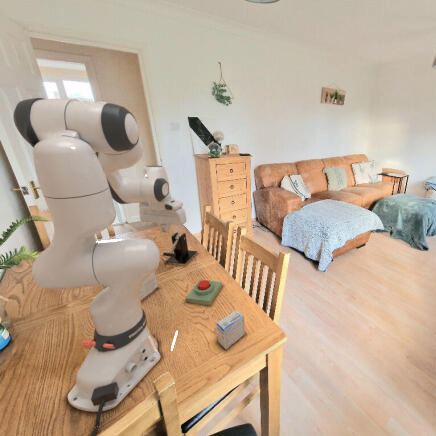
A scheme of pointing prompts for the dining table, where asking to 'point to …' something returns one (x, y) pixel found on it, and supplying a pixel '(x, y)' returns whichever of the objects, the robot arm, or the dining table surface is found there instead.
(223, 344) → the medicine box
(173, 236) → the lever bracket
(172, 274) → the dining table surface
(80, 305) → the dining table surface
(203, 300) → the button block
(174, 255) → the press lever
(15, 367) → the dining table surface
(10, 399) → the dining table surface
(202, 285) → the button
